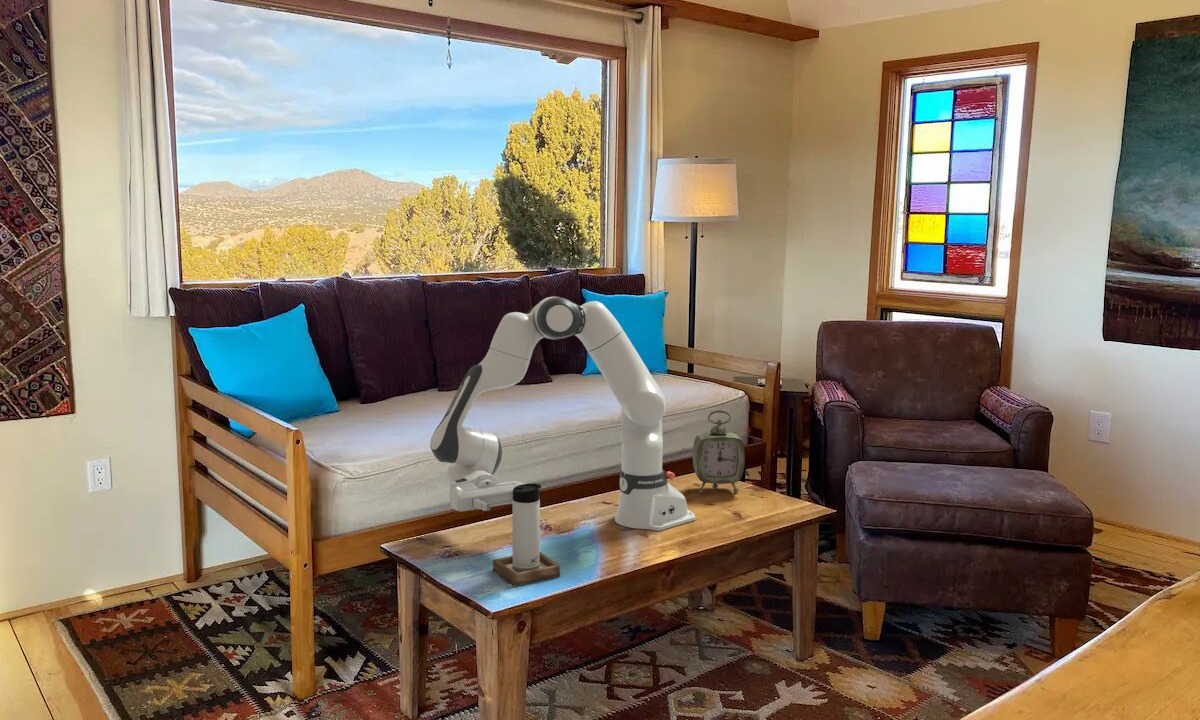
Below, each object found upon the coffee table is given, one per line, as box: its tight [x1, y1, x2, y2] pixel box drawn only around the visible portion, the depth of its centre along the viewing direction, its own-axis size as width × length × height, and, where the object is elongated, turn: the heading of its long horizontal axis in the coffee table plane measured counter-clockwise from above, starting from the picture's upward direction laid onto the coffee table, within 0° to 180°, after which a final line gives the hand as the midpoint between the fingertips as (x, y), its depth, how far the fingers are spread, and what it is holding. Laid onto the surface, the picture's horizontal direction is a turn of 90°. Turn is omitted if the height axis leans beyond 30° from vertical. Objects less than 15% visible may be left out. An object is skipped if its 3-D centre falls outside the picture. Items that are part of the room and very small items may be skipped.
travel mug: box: [511, 483, 542, 572], centre depth 214 cm, size 6×7×20 cm
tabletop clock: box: [692, 410, 746, 494], centre depth 281 cm, size 14×9×25 cm, turn 95°
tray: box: [492, 551, 561, 587], centre depth 216 cm, size 12×11×3 cm
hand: (505, 504), depth 223 cm, fingers open, 8 cm apart
